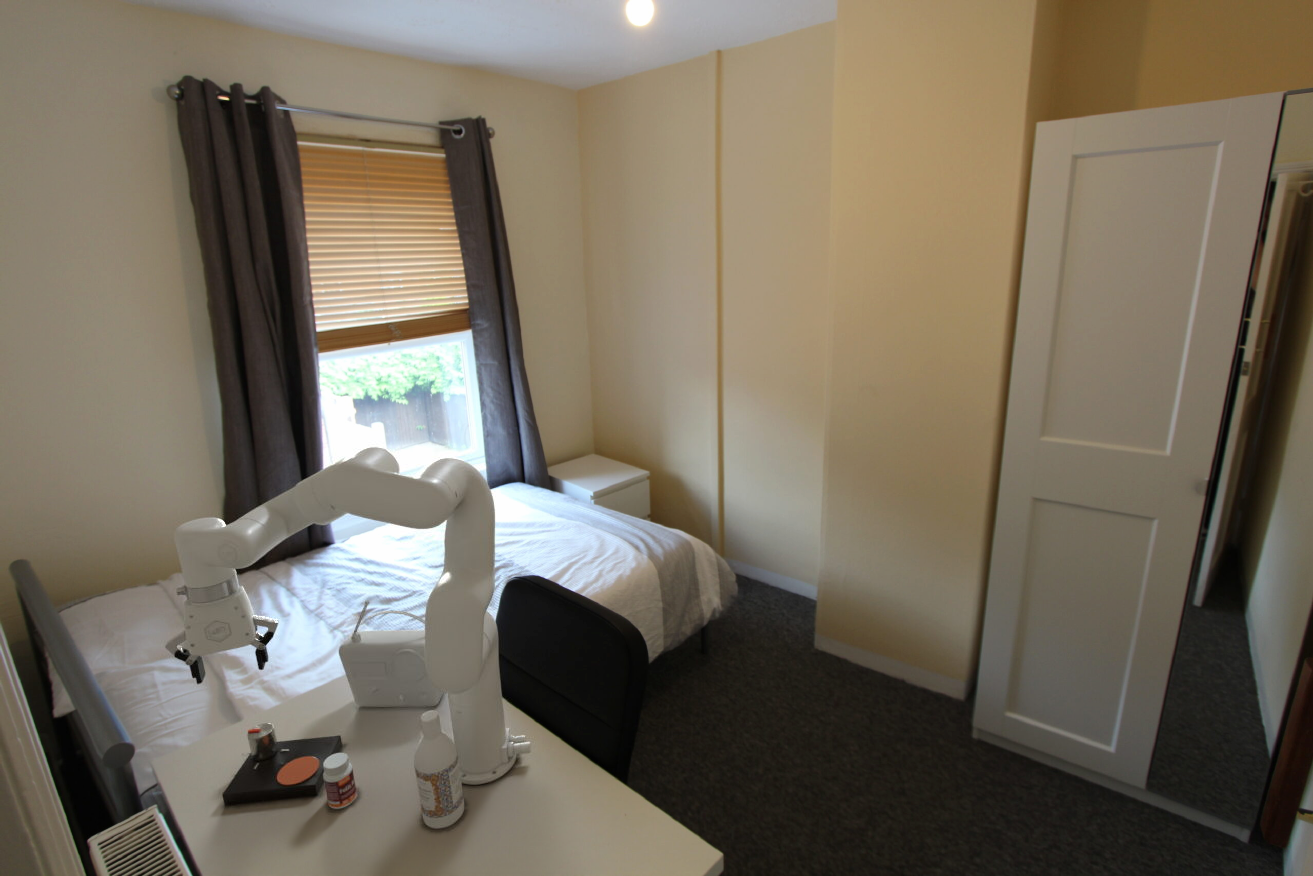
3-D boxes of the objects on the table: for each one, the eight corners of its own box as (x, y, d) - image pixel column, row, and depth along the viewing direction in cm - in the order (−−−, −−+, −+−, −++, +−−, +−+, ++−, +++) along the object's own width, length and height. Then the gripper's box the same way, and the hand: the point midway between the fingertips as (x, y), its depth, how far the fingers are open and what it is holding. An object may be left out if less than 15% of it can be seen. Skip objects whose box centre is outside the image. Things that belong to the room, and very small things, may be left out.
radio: (343, 713, 142) (324, 609, 135) (361, 689, 150) (343, 589, 143) (443, 712, 141) (428, 607, 134) (456, 688, 149) (443, 588, 142)
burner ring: (325, 755, 126) (324, 754, 126) (310, 783, 120) (310, 782, 120) (286, 759, 126) (286, 758, 126) (270, 787, 119) (269, 786, 119)
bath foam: (414, 820, 114) (398, 722, 108) (445, 792, 119) (431, 697, 114) (443, 836, 110) (427, 735, 105) (473, 807, 116) (460, 709, 111)
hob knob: (282, 743, 130) (277, 720, 129) (272, 759, 126) (266, 736, 124) (258, 745, 130) (253, 722, 128) (247, 762, 125) (242, 738, 124)
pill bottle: (346, 811, 116) (338, 772, 114) (322, 808, 117) (314, 768, 115) (363, 790, 121) (356, 752, 118) (340, 787, 122) (332, 749, 119)
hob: (345, 741, 134) (342, 730, 133) (317, 796, 120) (315, 784, 119) (255, 750, 132) (252, 739, 131) (217, 807, 118) (214, 794, 118)
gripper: (147, 608, 110) (170, 697, 114) (266, 586, 116) (283, 671, 120) (160, 589, 116) (181, 673, 121) (272, 569, 123) (288, 650, 127)
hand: (232, 672), depth 120 cm, fingers open, 9 cm apart
